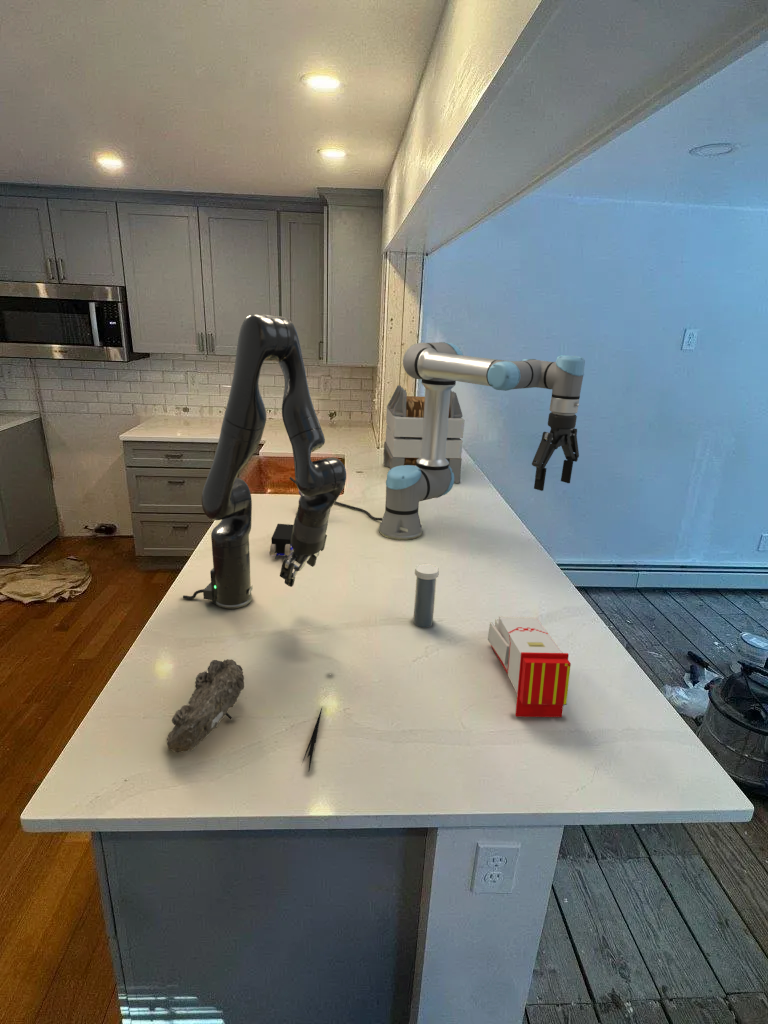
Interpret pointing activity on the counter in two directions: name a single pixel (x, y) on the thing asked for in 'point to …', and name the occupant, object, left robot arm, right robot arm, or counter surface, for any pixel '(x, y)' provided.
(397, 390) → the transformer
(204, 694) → the fossil
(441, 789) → the counter surface
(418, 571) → the lid
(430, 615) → the jar
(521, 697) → the toy
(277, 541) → the figurine character
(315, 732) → the feather
